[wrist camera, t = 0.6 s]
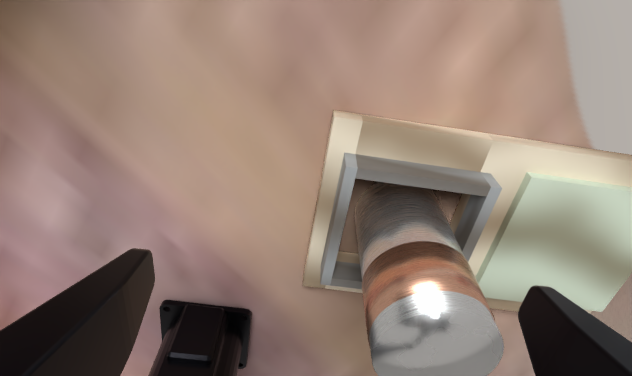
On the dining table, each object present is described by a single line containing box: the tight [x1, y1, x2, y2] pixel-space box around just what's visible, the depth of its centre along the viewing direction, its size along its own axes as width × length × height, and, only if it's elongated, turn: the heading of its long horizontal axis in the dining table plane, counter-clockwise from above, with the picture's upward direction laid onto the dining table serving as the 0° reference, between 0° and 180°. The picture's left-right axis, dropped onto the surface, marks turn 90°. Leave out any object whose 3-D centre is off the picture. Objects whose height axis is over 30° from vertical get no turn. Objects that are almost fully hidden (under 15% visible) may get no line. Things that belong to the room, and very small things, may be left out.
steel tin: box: [354, 182, 504, 376], centre depth 20 cm, size 5×5×10 cm
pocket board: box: [303, 110, 632, 313], centre depth 24 cm, size 12×20×3 cm, turn 81°
